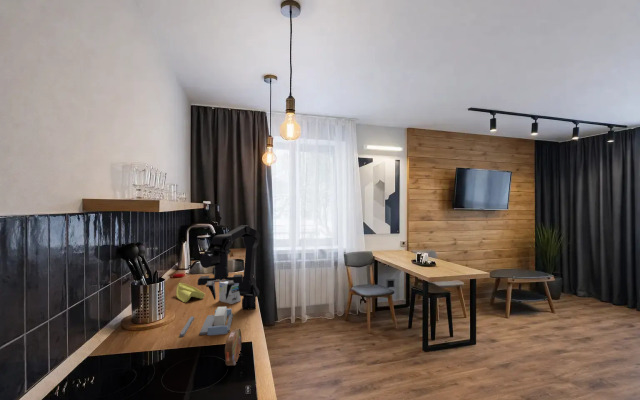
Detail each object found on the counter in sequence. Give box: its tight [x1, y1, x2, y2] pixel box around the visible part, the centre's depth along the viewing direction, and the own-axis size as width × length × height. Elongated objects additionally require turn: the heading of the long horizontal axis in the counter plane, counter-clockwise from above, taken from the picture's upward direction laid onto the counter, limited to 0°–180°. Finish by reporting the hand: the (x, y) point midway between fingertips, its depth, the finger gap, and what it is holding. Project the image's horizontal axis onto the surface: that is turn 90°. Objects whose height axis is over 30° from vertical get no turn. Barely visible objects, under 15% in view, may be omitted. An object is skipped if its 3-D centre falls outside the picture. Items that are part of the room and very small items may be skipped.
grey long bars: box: [179, 313, 234, 338], centre depth 129 cm, size 19×20×1 cm
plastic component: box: [175, 282, 206, 303], centre depth 171 cm, size 20×7×10 cm
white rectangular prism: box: [213, 306, 228, 326], centre depth 130 cm, size 4×12×6 cm, turn 12°
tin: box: [224, 328, 242, 366], centre depth 100 cm, size 15×3×8 cm, turn 4°
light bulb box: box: [218, 281, 242, 305], centre depth 163 cm, size 11×7×11 cm, turn 58°
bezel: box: [207, 308, 233, 336], centre depth 130 cm, size 8×22×3 cm, turn 12°
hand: (220, 299), depth 130 cm, fingers open, 5 cm apart
